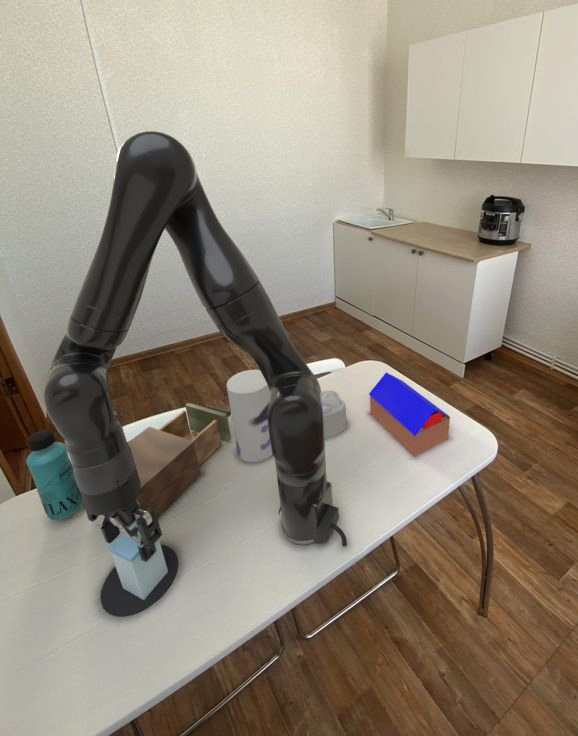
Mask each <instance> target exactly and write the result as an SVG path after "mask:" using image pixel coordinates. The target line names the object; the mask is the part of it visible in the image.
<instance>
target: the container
mask: <svg viewBox="0 0 578 736" xmlns="http://www.w3.org/2000/svg"><path fill="white" fill-rule="evenodd" d="M226 391H227V396H228V397H227V398H228V402H229V409H230V410H229V411H230V412H231V415H230V417H231V421H232V427H233V428H232V429H233V435H234V439H235V445H236V452H237V453H236V454H237V456H238V457H239V458H240V459H241V460H242V461H244V462H247V463H258V462H261V461H264V460H267V459H268V458H271V456H273V454H272V449H271V443H270V436H269V429H268V420H267V414H268V406H269V399H270V390H269V388H268V385H267V383H266V381H265V379H264V377H263V375H262V373H261V371H260V369H247V370H243V371H240V372H237V373H236V374H234V375H232V376H231V377H230V378H229V379H228V380H227V382H226Z"/></svg>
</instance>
